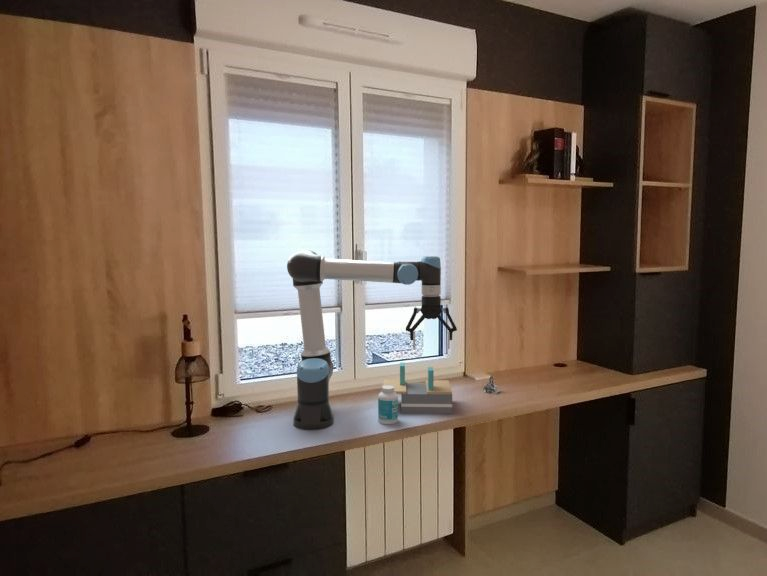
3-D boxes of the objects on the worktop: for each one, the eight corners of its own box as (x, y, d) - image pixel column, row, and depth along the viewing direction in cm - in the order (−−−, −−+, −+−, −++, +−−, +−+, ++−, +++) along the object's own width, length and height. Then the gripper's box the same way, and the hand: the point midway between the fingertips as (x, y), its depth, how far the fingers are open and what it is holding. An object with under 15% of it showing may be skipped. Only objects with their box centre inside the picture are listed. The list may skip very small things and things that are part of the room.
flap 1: (381, 393, 200) (381, 371, 199) (383, 382, 216) (383, 361, 215) (406, 393, 200) (406, 371, 199) (406, 382, 216) (406, 361, 215)
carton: (401, 413, 200) (401, 394, 200) (401, 400, 216) (401, 382, 216) (452, 414, 200) (452, 394, 199) (448, 401, 216) (448, 382, 215)
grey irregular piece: (472, 392, 228) (472, 375, 228) (485, 389, 234) (485, 372, 233) (487, 397, 221) (487, 380, 221) (500, 393, 226) (501, 377, 226)
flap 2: (427, 394, 199) (427, 371, 198) (425, 382, 215) (425, 361, 214) (451, 394, 199) (452, 371, 198) (448, 382, 215) (448, 361, 214)
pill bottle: (395, 426, 187) (395, 390, 186) (376, 424, 189) (376, 389, 188) (399, 419, 195) (399, 384, 193) (380, 417, 196) (380, 383, 195)
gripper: (399, 296, 197) (399, 350, 199) (463, 296, 196) (463, 350, 198) (399, 294, 204) (400, 346, 206) (461, 294, 203) (461, 346, 205)
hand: (431, 348), depth 202 cm, fingers open, 13 cm apart
